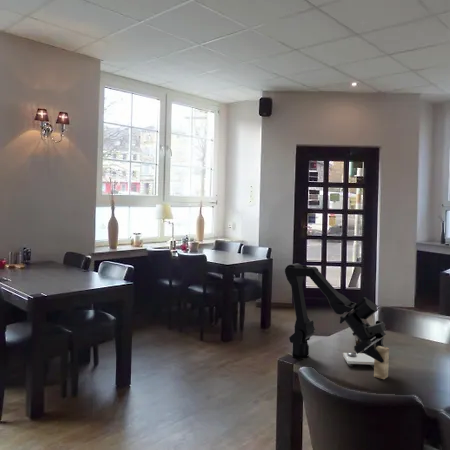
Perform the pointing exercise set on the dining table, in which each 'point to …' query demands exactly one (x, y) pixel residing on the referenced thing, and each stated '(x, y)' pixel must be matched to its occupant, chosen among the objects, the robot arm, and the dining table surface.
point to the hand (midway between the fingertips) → (385, 360)
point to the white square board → (359, 359)
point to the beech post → (379, 367)
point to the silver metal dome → (351, 354)
